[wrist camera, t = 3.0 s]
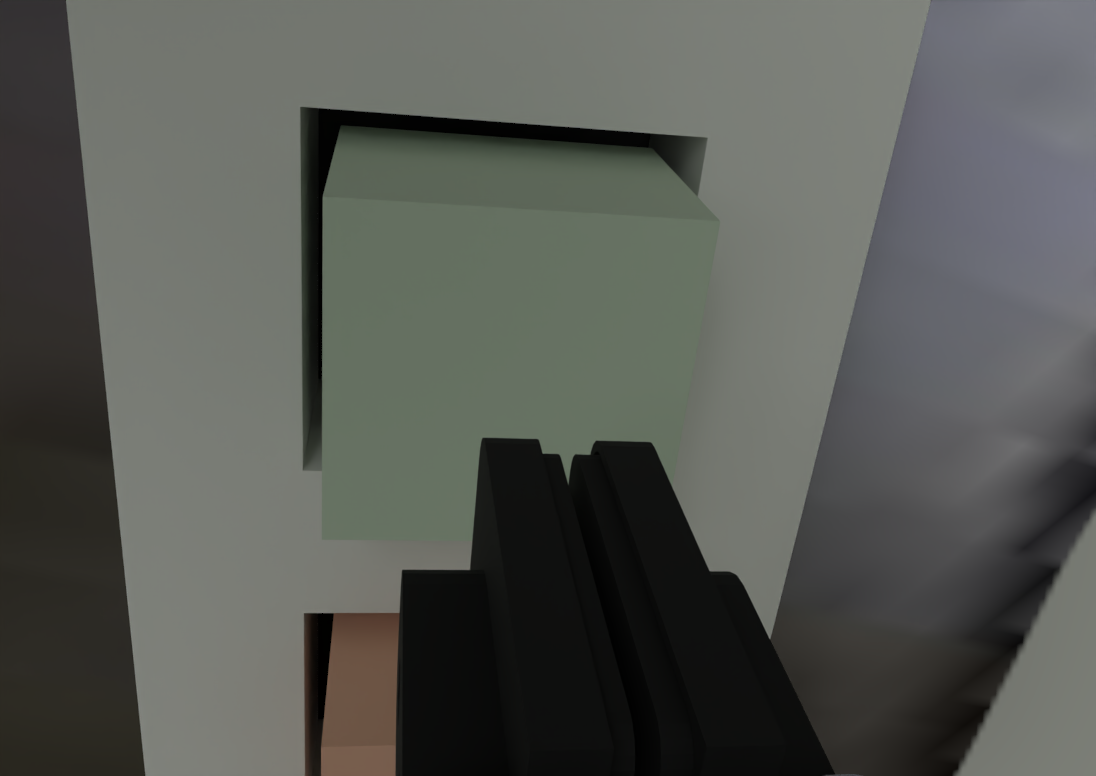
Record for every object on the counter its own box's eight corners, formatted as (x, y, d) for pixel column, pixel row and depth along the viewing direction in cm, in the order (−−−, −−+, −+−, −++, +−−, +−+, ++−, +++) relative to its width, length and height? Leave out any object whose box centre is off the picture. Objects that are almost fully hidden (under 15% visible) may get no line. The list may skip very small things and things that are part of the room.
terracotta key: (335, 589, 20) (320, 746, 16) (587, 590, 20) (626, 739, 17) (334, 776, 22) (320, 950, 18) (560, 769, 23) (590, 935, 19)
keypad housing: (120, -152, 16) (48, -159, 12) (849, -69, 17) (945, -58, 14) (210, 1036, 29) (186, 1176, 26) (620, 1009, 30) (644, 1136, 27)
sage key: (340, 124, 16) (322, 196, 12) (651, 148, 16) (720, 221, 13) (338, 409, 18) (321, 539, 14) (612, 417, 19) (661, 542, 15)
